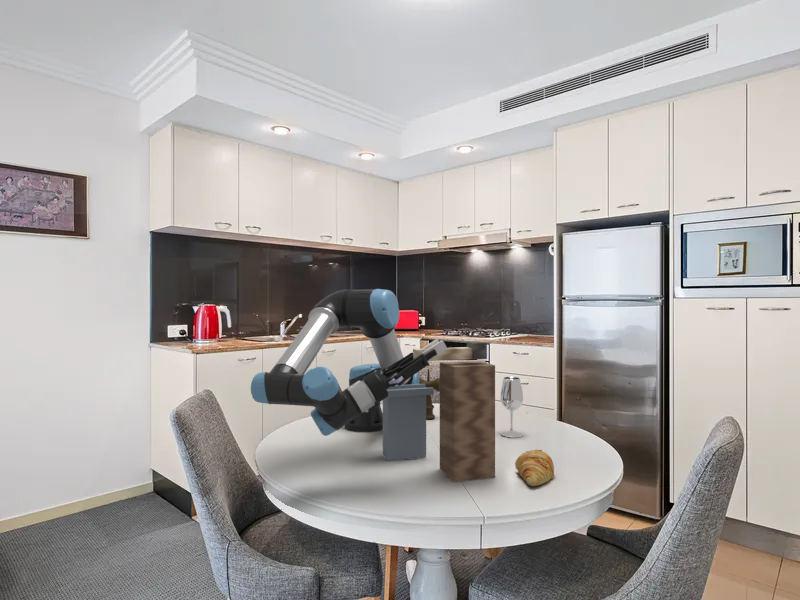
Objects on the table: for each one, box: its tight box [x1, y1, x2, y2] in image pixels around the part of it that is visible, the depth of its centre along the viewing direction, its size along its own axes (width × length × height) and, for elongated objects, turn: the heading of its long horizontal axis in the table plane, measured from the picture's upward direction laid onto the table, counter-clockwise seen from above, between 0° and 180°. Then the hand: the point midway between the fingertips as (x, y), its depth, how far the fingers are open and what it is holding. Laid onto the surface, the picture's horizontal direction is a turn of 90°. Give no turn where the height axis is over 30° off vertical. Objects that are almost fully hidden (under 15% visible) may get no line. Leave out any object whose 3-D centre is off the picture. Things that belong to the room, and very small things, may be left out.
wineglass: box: [500, 376, 524, 439], centre depth 174 cm, size 8×8×20 cm
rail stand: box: [382, 384, 435, 462], centre depth 151 cm, size 16×8×21 cm, turn 107°
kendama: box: [419, 368, 440, 420], centre depth 198 cm, size 6×10×20 cm, turn 79°
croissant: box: [514, 449, 555, 487], centre depth 134 cm, size 21×10×8 cm, turn 162°
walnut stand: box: [439, 360, 496, 483], centre depth 136 cm, size 12×10×30 cm
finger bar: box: [412, 341, 488, 362], centre depth 134 cm, size 20×4×4 cm, turn 107°
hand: (441, 344), depth 134 cm, fingers closed on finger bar, 3 cm apart
